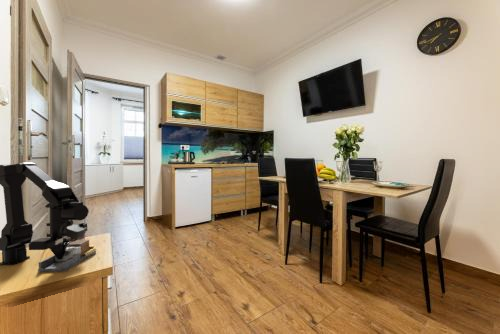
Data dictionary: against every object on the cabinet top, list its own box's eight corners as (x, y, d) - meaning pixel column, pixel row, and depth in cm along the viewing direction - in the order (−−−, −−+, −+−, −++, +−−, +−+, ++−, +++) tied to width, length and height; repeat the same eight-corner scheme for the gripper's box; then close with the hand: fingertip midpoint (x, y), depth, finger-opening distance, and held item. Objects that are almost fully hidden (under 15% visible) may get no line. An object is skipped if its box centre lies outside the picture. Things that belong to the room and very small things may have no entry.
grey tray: (38, 272, 78) (37, 262, 78) (73, 252, 95) (73, 245, 95) (65, 271, 79) (65, 262, 79) (96, 252, 95) (96, 244, 95)
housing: (68, 256, 89) (68, 244, 89) (77, 251, 94) (77, 239, 94) (80, 255, 89) (80, 244, 89) (89, 250, 94) (89, 239, 94)
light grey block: (55, 261, 84) (54, 251, 84) (66, 255, 89) (65, 245, 89) (73, 260, 84) (72, 250, 84) (83, 255, 89) (82, 245, 89)
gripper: (60, 225, 73) (60, 270, 73) (97, 213, 91) (98, 249, 92) (26, 226, 72) (27, 271, 73) (71, 213, 91) (71, 249, 91)
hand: (60, 259), depth 82 cm, fingers closed
